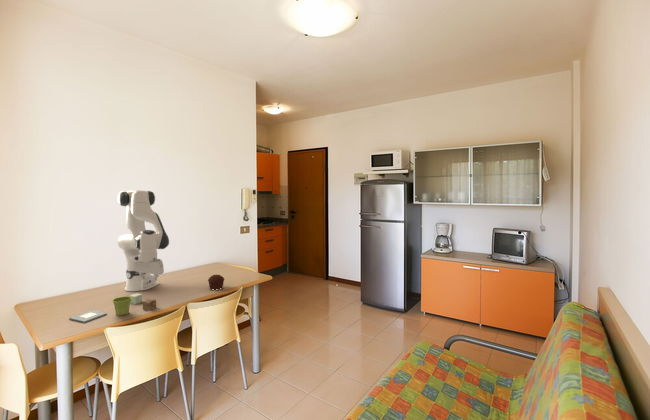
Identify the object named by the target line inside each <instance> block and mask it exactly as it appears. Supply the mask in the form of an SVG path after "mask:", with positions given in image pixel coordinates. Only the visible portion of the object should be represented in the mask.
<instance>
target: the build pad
mask: <svg viewBox="0 0 650 420" xmlns="http://www.w3.org/2000/svg"><path fill="white" fill-rule="evenodd" d="M107 314H108V313H107V312H102V311H99V310H94V309H91V310H89V311H88V310H87V311H85V312H83V313H79V314H77V315H74V316H71V317H70V316H69V320H71V321H74V322H79V323H82V324H86V323H88V321H89V322H91V321H93V320H97V319H100V318H102V317H105V316H108V315H107ZM96 318H97V319H96Z"/></svg>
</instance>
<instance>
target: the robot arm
mask: <svg viewBox="0 0 650 420" xmlns="http://www.w3.org/2000/svg"><path fill="white" fill-rule="evenodd" d="M117 202H118V203H119V205H120V206H122V207H126V209H125V210H126V213H125V222H126V223H125V224H126V225H125V226H126V228H127V229H128V230H129V231H130V233H131V234H130V233H129V234H123V235H120V236H119V237H118V239H117V245H118V247H119V248H120V249H121V250H122V251H123V254H124V255H125V258H126V271H125V272H126V284H125V287H124V291H126V292H139V291H146V290H149V289H152V288H153V287H156V286H159V285H160V282H158V278H159V276H160V275H163V274H164V273H165V270H164V269H165V268H164V263H163V261H162V259H160V258H158V250H164V249H166V248H168V246H169V244H170V238H169V235H168V234H167V232H166V231H165V227H164V226H163V223H162V220H161V218H160V216H159V214H158V213H157V212H155V211H154V210H153V209H152V207H151V206H153V205H154V204H155V202H156V196H155V193H154V192H153V191H150V190H128V191H127V190H122V191H120V192H119V193H118V195H117ZM145 222H146V223H149V224H151V225H152V226H153V227H154V229H155V230H151V229H146V225H145Z"/></svg>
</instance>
